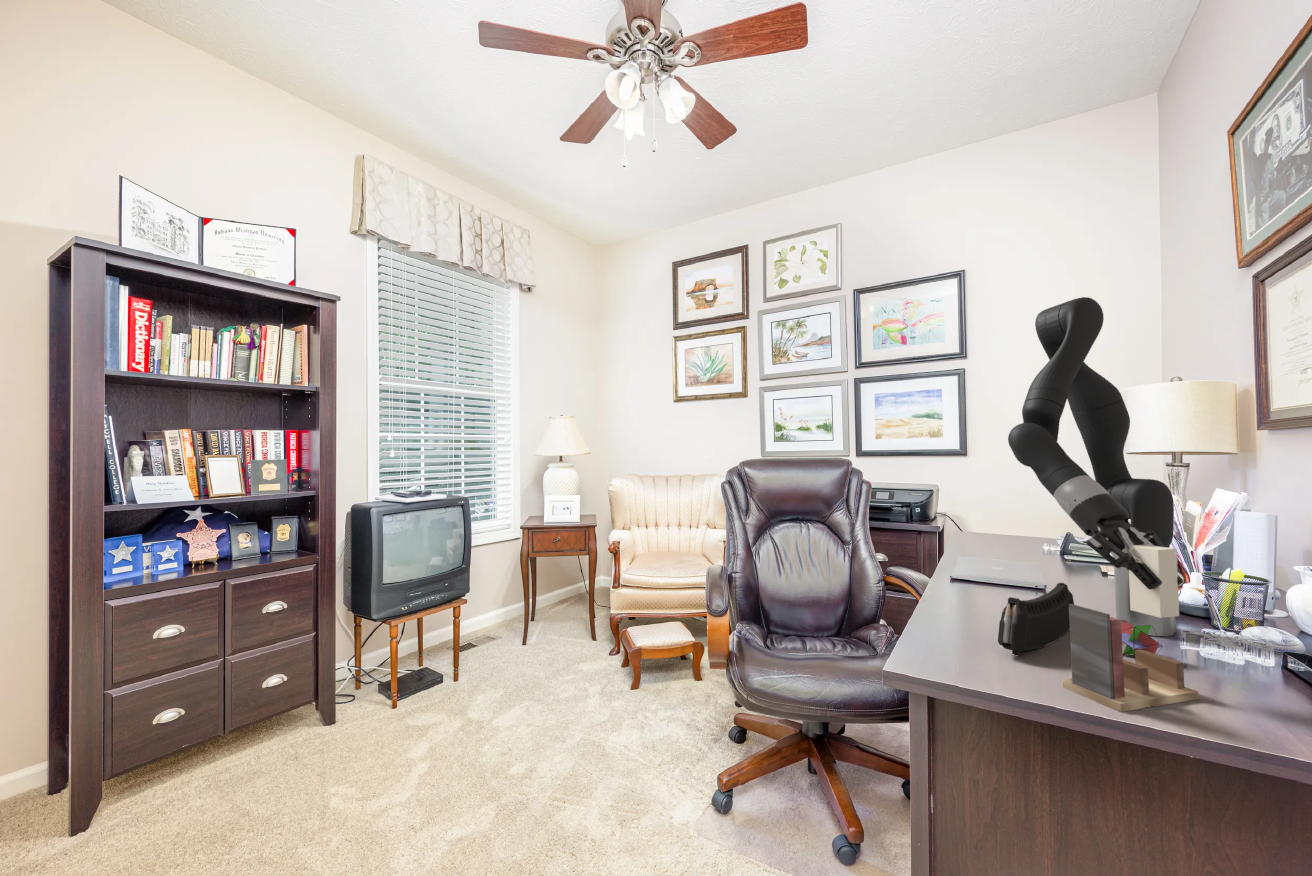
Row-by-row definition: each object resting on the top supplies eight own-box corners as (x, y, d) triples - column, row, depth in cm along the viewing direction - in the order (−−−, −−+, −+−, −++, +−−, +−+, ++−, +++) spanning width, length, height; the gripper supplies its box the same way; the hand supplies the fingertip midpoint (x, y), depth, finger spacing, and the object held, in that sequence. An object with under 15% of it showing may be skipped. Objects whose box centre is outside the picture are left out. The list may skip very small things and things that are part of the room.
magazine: (1062, 584, 121) (1003, 562, 105) (1080, 587, 118) (1022, 565, 103) (1057, 662, 118) (995, 651, 102) (1075, 666, 115) (1014, 656, 99)
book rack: (1135, 676, 92) (1131, 594, 93) (1198, 699, 84) (1193, 608, 84) (1062, 686, 89) (1058, 601, 89) (1120, 711, 80) (1116, 617, 80)
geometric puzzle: (1183, 654, 96) (1152, 611, 101) (1153, 657, 95) (1123, 613, 100) (1150, 665, 102) (1122, 624, 107) (1121, 669, 101) (1094, 627, 106)
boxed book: (1148, 608, 91) (1145, 544, 91) (1179, 616, 87) (1176, 548, 87) (1130, 610, 90) (1127, 545, 90) (1160, 617, 86) (1157, 549, 86)
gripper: (1072, 492, 95) (1151, 575, 82) (1133, 491, 98) (1218, 570, 86) (1045, 519, 100) (1116, 600, 87) (1104, 516, 103) (1181, 595, 91)
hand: (1166, 585), depth 87 cm, fingers closed on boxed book, 4 cm apart
